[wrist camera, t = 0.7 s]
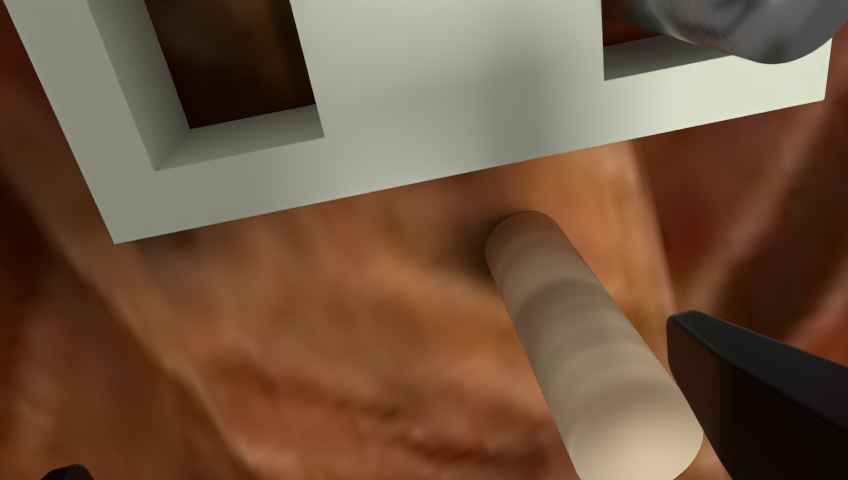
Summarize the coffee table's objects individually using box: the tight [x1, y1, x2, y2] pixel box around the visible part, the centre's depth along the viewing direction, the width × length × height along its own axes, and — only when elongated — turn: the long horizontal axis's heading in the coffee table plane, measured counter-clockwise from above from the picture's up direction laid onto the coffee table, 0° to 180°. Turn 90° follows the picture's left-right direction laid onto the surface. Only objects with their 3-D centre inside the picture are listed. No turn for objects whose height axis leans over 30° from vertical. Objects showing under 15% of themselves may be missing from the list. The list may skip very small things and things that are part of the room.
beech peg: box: [485, 212, 703, 480], centre depth 18 cm, size 3×3×10 cm
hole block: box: [3, 0, 832, 244], centre depth 17 cm, size 8×20×4 cm, turn 100°
